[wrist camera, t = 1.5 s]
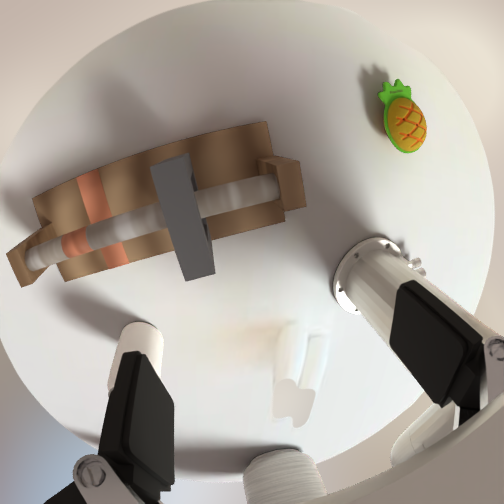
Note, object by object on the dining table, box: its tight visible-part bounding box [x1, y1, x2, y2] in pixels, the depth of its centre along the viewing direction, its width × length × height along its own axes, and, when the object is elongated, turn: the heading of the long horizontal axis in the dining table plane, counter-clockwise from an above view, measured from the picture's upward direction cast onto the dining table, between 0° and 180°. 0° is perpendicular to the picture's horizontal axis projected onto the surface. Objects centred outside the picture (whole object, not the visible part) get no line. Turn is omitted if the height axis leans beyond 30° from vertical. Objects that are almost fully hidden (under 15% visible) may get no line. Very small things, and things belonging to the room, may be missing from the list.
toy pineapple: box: [378, 79, 427, 153], centre depth 28 cm, size 7×10×5 cm
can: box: [108, 322, 164, 396], centre depth 31 cm, size 6×6×12 cm
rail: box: [6, 121, 306, 288], centre depth 26 cm, size 30×12×10 cm, turn 102°
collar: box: [150, 153, 215, 281], centre depth 23 cm, size 2×9×9 cm, turn 12°
